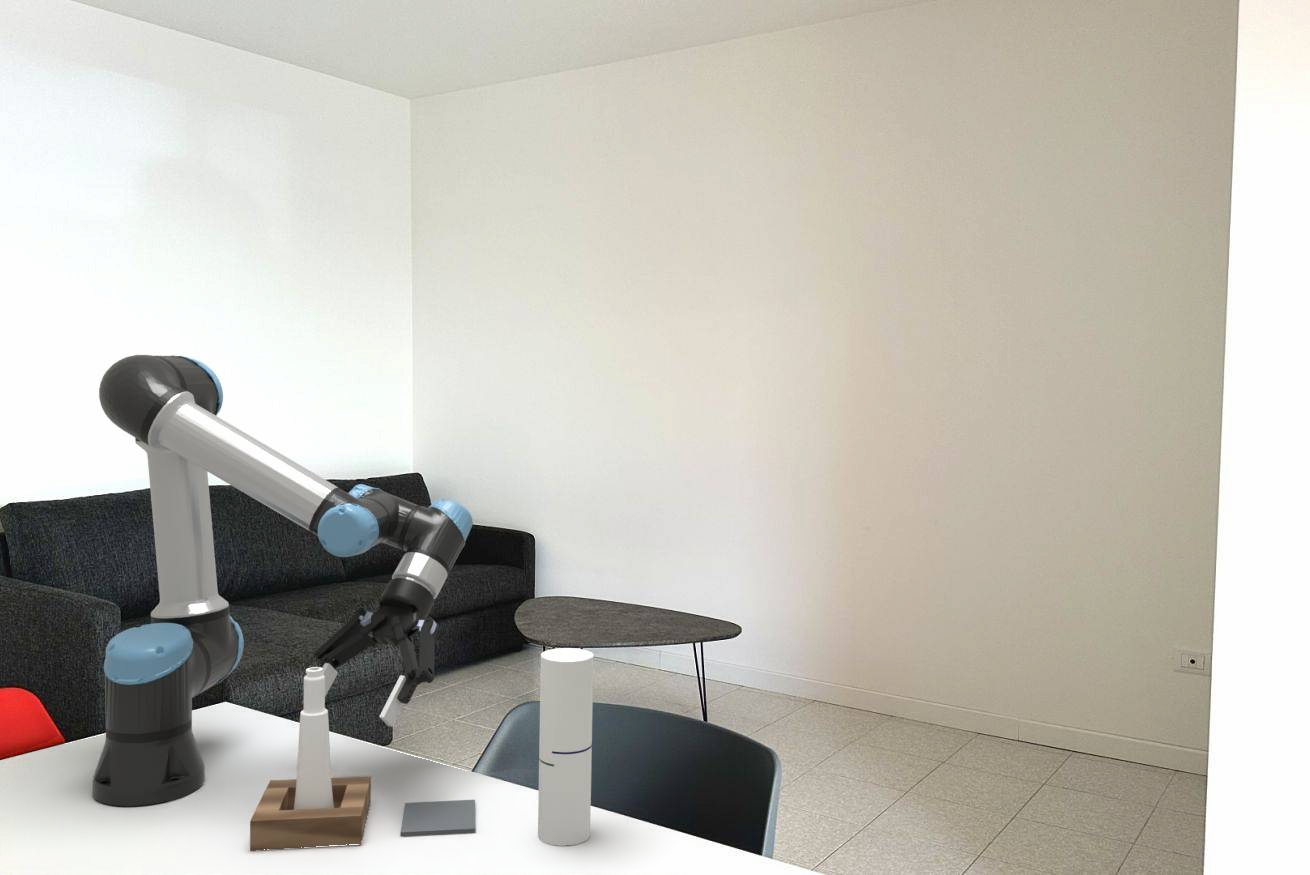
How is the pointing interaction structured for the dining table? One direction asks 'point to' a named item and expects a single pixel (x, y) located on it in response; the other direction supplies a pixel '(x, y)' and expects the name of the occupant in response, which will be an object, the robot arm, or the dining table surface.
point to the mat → (438, 818)
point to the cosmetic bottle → (314, 747)
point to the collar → (310, 816)
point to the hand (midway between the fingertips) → (346, 714)
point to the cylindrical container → (565, 746)
